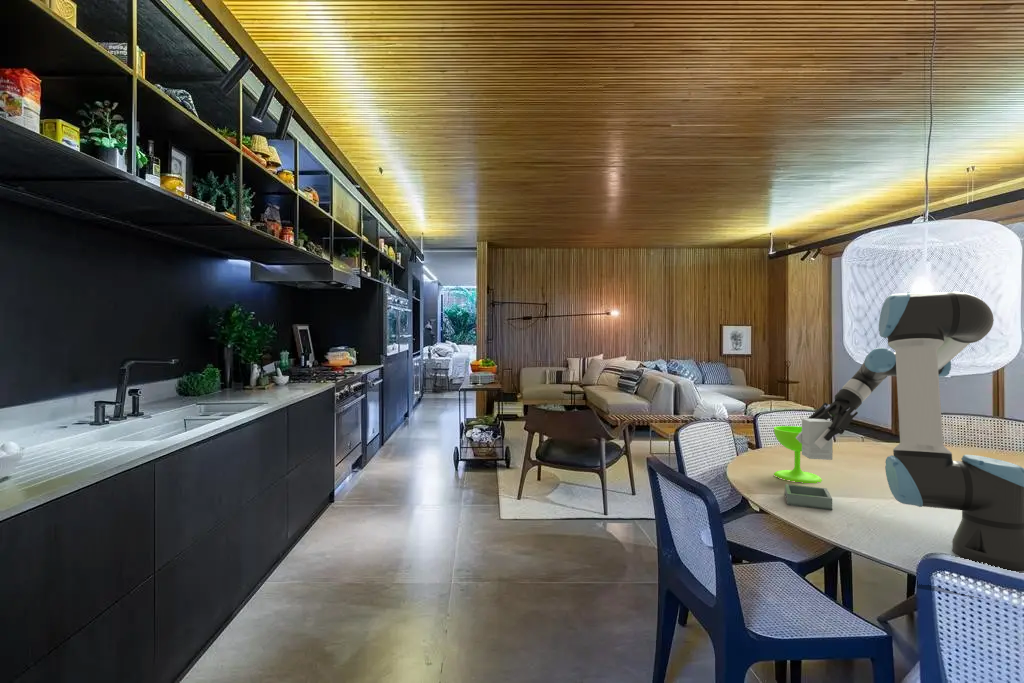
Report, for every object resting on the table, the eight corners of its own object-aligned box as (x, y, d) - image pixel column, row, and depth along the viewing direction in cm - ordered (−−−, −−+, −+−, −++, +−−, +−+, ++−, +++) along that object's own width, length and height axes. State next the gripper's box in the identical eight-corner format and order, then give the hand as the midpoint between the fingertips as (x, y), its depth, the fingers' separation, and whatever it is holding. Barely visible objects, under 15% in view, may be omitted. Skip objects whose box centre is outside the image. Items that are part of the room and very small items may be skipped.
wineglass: (829, 478, 196) (829, 430, 196) (811, 486, 186) (811, 435, 185) (784, 470, 208) (784, 424, 208) (765, 476, 198) (765, 428, 198)
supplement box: (833, 460, 174) (833, 421, 174) (808, 459, 175) (808, 421, 175) (824, 455, 181) (824, 418, 181) (801, 454, 183) (801, 417, 183)
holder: (832, 510, 160) (832, 498, 160) (787, 505, 164) (787, 493, 164) (826, 499, 171) (826, 488, 171) (784, 494, 175) (785, 484, 175)
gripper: (884, 407, 169) (837, 458, 168) (836, 399, 191) (794, 444, 189) (869, 390, 169) (822, 441, 167) (822, 385, 190) (780, 430, 188)
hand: (807, 443), depth 178 cm, fingers closed on supplement box, 9 cm apart
